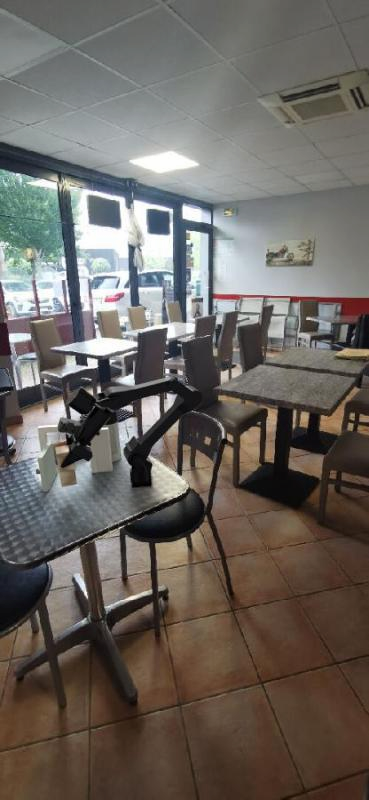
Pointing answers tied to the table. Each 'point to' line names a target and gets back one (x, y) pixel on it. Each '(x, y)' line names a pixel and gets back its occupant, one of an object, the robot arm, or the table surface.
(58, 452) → the block
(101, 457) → the wall frame
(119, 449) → the spray can
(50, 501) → the table surface
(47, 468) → the door
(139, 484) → the robot arm
